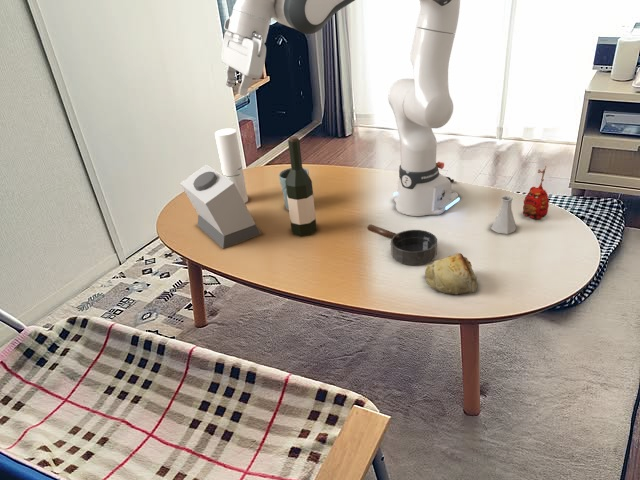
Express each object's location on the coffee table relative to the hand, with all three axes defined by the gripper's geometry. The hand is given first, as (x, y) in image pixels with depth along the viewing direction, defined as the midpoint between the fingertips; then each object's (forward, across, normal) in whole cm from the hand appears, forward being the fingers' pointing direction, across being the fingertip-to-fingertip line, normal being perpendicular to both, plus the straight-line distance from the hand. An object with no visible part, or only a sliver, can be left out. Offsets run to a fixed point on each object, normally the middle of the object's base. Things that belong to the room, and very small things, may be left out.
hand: (235, 90), depth 137 cm
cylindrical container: (+42, +46, -27) cm, 67 cm away
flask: (+16, -24, -83) cm, 88 cm away
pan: (+29, -21, -55) cm, 65 cm away
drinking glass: (+35, +29, -42) cm, 62 cm away
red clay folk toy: (+11, -22, -95) cm, 98 cm away
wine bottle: (+37, +11, -36) cm, 53 cm away
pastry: (+29, -39, -55) cm, 73 cm away
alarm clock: (+46, +26, -16) cm, 56 cm away
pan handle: (+28, -10, -50) cm, 59 cm away
